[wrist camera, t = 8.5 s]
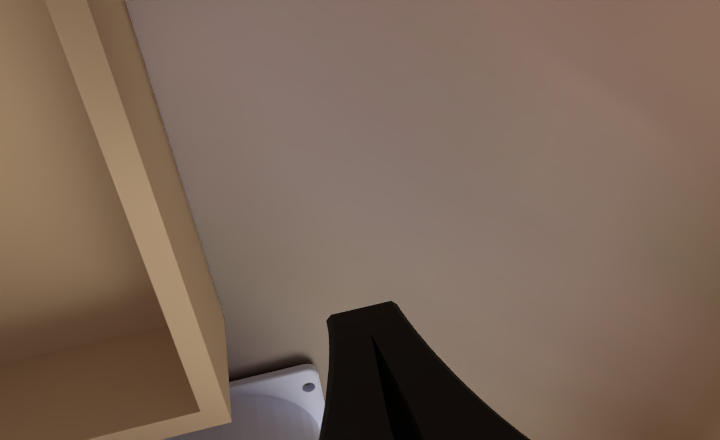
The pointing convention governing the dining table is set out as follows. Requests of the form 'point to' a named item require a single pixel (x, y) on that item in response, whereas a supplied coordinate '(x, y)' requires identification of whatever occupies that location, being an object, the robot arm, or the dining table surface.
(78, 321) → the mailer box
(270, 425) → the robot arm
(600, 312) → the dining table surface
